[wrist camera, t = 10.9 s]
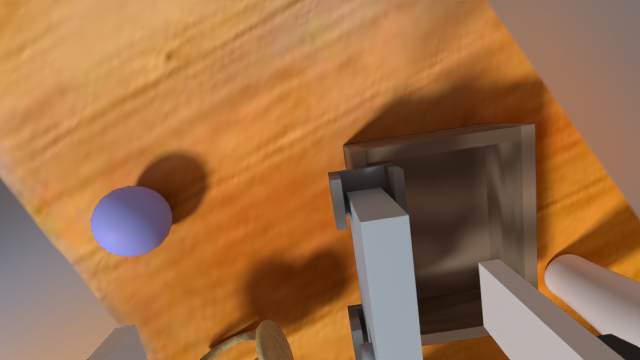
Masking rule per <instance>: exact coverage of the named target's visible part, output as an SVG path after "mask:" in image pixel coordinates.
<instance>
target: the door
mask: <svg viewBox="0 0 640 360" xmlns="http://www.w3.org/2000/svg"><path fill="white" fill-rule="evenodd" d="M347 201H348V208H349V215H350V223H351V230H352V237H353V245H354V252H355V259H356V267H357V274H358V281H359V289H360V296H361V303H362V311H363V318H364V326H365V333H366V338H367V342H368V343H366V344H360V348H361V354H362V360H423V356H422V346H421V336H420V326H419V315H418V305H417V295H416V285H415V275H414V264H413V254H412V244H411V234H410V224H409V215H408V214H407V213H406V212H405V211H404V210H403V209H402V208H401V207H400V206H399V205H398V204H397V203H396V202H395V201H394V200H393V199H392V198H391V197H390V196H389V195H388V194H387V193H386V192H385V191H384V190H383V189H382V188H381V187H380V188H373V189H367V190H360V191H353V192H347Z"/></svg>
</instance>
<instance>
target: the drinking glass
mask: <svg viewBox="0 0 640 360" xmlns="http://www.w3.org/2000/svg"><path fill="white" fill-rule="evenodd" d="M544 281H545V284H546V286H547V288H548V289H549V290H550V291H551V292H552V293H553V294H554V295H556V296H557V297H558V298H560V299H561V300H562V301H564V302H565V303H566V304H567V305H568V306H570V307H571V308H572V309H573V310H574V311H575V312H577V313H578V314H579V315H580V316H581V317H582V318H584V319H585V320H586V321H587V322H588V323H589V324H590V325H592V326H593V327H594V328H595V329H596V330H597V331H598V332H600V333H601V334H602V335H605V334H613V335H615V336H617V337H619V338H621V339H624V340H626V341H628V342H630V343H632V344H634V345H636V346H638V347H639V348H640V282H638V281H636V280H634V279H631V278H629V277H626V276H624V275H621V274H619V273H616V272H614V271H612V270H609V269H607V268H604V267H602V266H600V265H597V264H595V263H593V262H591V261H589V260H587V259H585V258H583V257H581V256H578V255H574V254H565V255H561V256H559V257H557V258H555V259H554V260H552V261H551V262H550V263H549V264H548V266H547V268H546V270H545V273H544Z"/></svg>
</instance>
